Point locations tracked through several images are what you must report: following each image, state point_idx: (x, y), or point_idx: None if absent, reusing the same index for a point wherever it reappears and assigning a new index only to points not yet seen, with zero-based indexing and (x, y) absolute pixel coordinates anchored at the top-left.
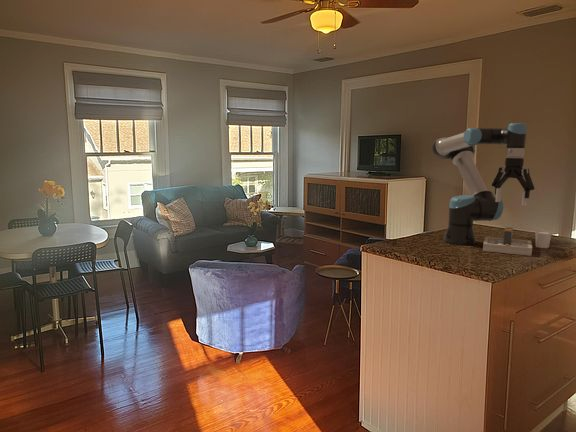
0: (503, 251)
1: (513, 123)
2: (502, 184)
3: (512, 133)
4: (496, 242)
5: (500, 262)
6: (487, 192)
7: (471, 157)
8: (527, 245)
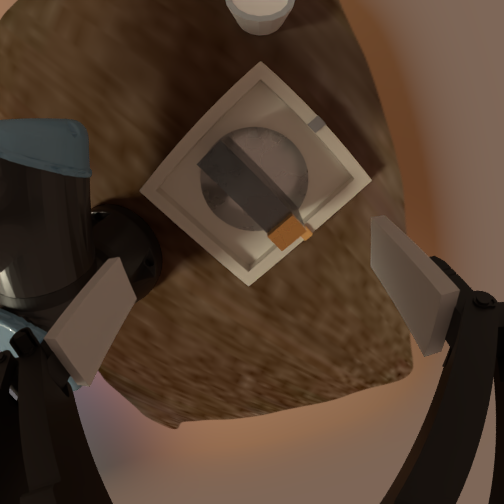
0: None
1: None
2: (42, 377)
3: None
4: (235, 218)
5: (368, 312)
6: None
7: None
8: (285, 105)
